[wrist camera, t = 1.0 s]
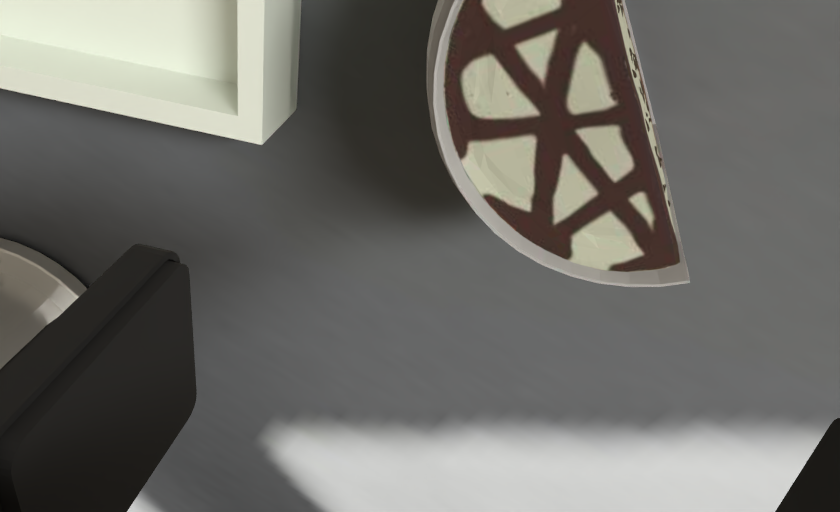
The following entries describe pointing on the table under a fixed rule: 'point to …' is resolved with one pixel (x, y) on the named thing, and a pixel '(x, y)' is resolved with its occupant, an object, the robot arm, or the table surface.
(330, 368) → the table surface
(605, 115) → the food container
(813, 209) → the table surface
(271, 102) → the tray
